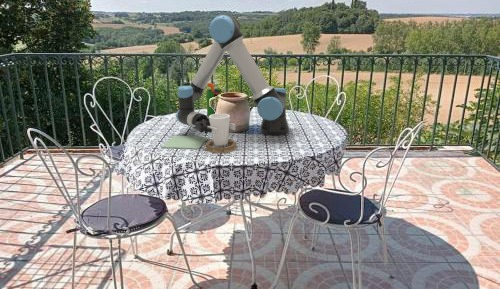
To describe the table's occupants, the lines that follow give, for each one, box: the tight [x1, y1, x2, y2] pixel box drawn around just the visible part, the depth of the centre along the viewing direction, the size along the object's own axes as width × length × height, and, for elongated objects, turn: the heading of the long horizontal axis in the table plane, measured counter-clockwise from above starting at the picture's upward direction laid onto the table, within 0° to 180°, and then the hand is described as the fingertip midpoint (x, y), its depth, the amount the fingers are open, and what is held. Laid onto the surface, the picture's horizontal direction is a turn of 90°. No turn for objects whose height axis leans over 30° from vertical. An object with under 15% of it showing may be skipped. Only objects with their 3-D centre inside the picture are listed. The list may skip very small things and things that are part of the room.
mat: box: [161, 135, 209, 150], centre depth 191 cm, size 18×18×1 cm
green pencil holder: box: [205, 82, 222, 118], centre depth 238 cm, size 10×9×20 cm
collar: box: [205, 138, 237, 154], centre depth 182 cm, size 13×13×2 cm
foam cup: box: [208, 113, 231, 146], centre depth 180 cm, size 10×9×13 cm
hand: (225, 129), depth 176 cm, fingers closed on foam cup, 9 cm apart
